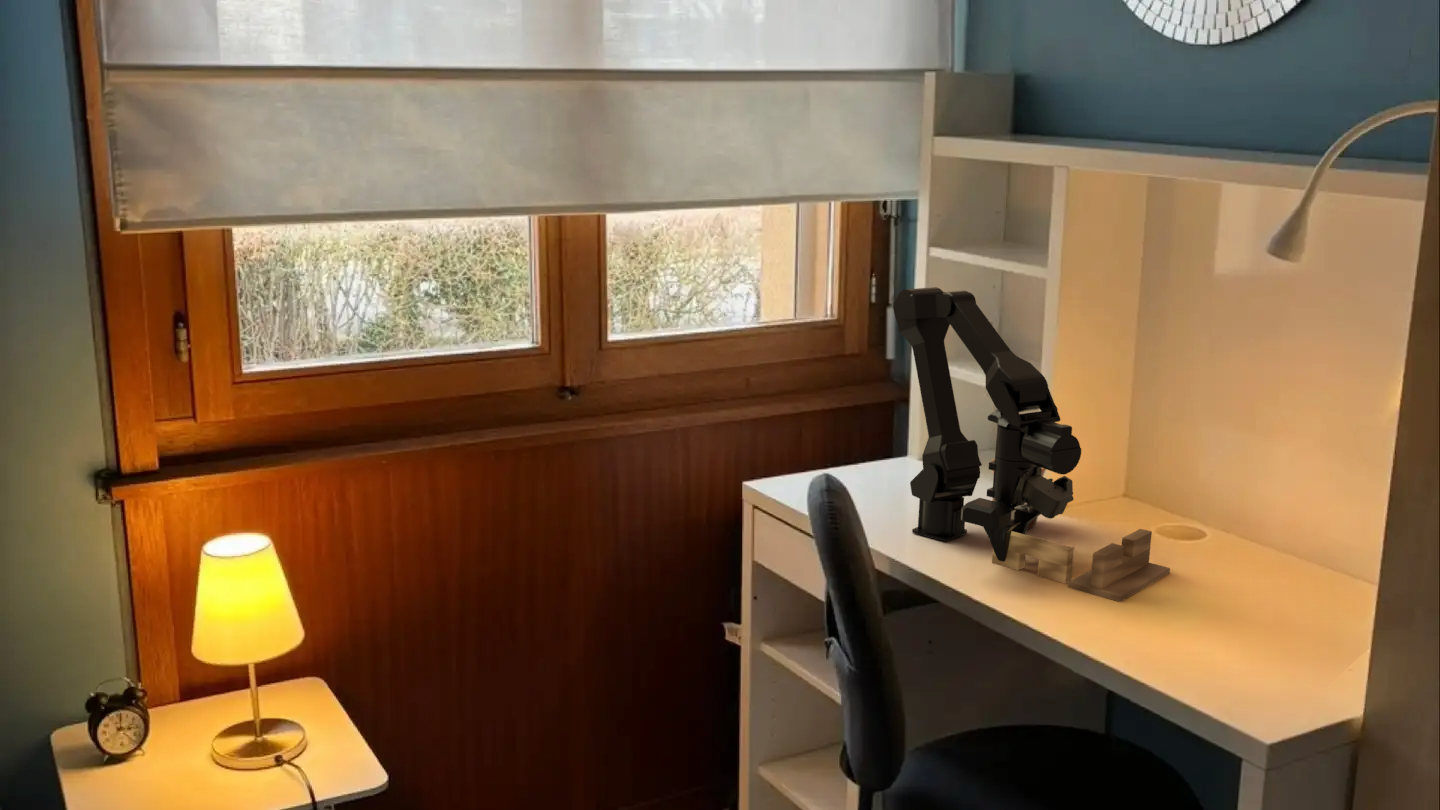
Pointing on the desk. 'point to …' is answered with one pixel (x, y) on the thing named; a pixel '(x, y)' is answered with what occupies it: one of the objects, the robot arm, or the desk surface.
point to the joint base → (1121, 568)
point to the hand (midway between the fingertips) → (1007, 558)
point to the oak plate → (1039, 556)
